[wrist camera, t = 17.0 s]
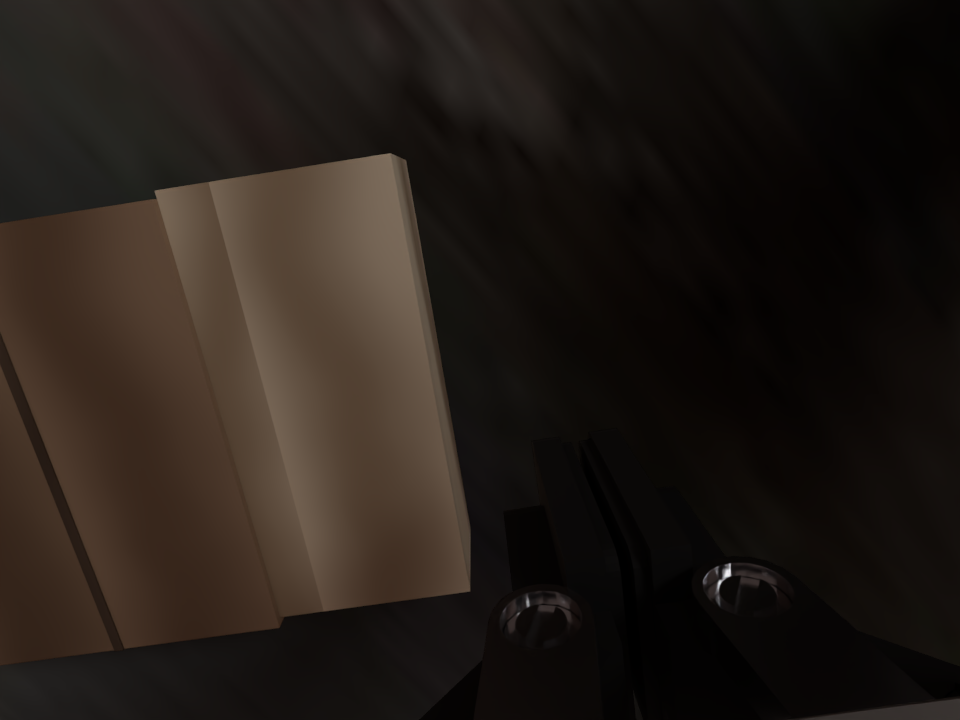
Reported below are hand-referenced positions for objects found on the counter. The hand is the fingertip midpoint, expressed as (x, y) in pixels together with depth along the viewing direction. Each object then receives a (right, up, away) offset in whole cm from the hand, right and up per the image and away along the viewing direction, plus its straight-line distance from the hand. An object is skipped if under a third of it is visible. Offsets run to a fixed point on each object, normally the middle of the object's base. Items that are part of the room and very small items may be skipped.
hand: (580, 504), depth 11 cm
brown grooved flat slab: (-15, +1, +10) cm, 18 cm away
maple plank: (-6, +3, +10) cm, 12 cm away
